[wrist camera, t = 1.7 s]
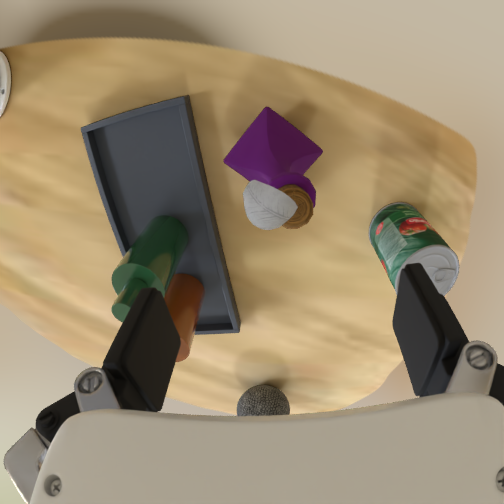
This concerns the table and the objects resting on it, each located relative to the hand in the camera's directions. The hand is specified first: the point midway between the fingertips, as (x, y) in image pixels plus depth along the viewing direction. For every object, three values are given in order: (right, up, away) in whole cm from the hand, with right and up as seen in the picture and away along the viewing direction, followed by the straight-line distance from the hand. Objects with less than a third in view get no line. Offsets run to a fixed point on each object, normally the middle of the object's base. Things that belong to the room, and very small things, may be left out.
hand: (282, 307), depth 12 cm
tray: (-12, +5, +28) cm, 31 cm away
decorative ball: (+1, -25, +46) cm, 52 cm away
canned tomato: (+18, +5, +26) cm, 32 cm away
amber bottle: (-11, -3, +33) cm, 34 cm away
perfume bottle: (+1, +14, +22) cm, 26 cm away
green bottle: (-12, +4, +28) cm, 31 cm away
